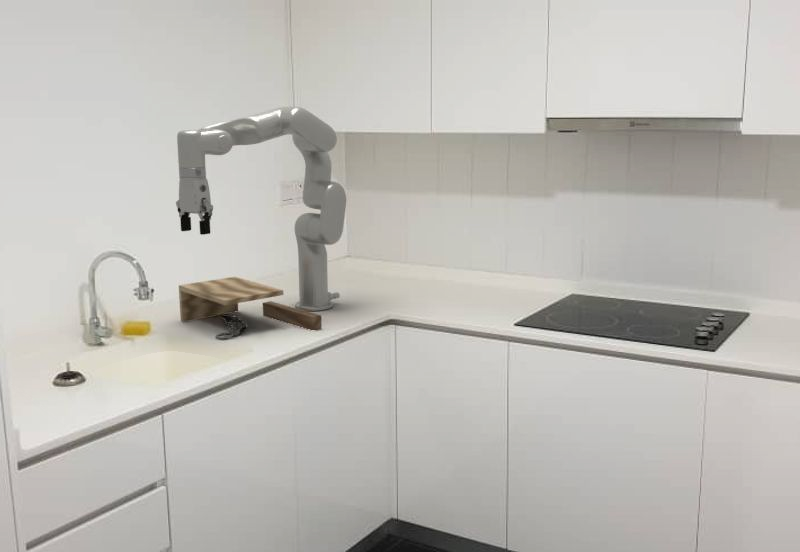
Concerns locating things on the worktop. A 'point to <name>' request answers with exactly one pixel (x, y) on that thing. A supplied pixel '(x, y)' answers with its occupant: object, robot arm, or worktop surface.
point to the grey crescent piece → (232, 327)
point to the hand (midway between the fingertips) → (195, 232)
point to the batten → (292, 315)
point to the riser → (220, 296)
